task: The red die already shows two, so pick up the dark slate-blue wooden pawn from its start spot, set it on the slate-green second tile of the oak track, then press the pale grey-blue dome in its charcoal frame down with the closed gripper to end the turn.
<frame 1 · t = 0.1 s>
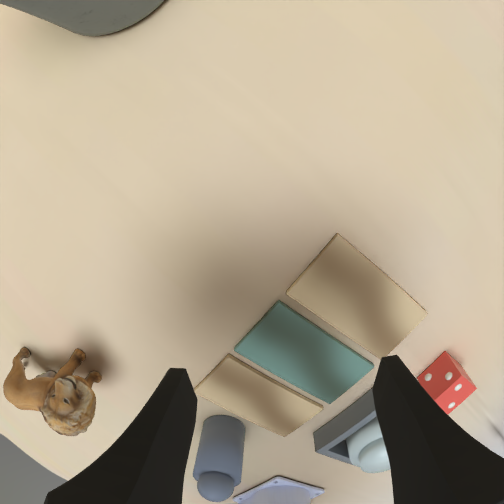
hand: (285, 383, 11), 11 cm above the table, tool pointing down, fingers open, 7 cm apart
dome: (381, 444, 23), point 3 cm above the table, slide at 0.0 cm
pawn: (224, 427, 26), on the table
lion figurine: (66, 358, 25), on the table
dome frame: (375, 422, 26), on the table
red die: (439, 371, 23), on the table
track: (307, 357, 23), on the table
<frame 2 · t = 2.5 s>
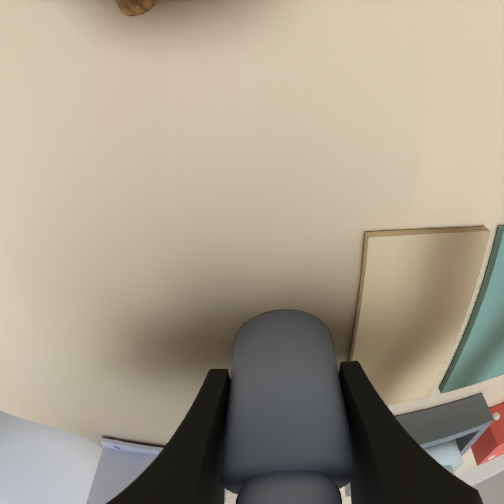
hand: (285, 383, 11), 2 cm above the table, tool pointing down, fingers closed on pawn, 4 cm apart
dome: (417, 472, 15), point 3 cm above the table, slide at 0.0 cm
pawn: (283, 347, 13), on the table, touching gripper
dome frame: (409, 440, 17), on the table
red die: (489, 416, 17), on the table
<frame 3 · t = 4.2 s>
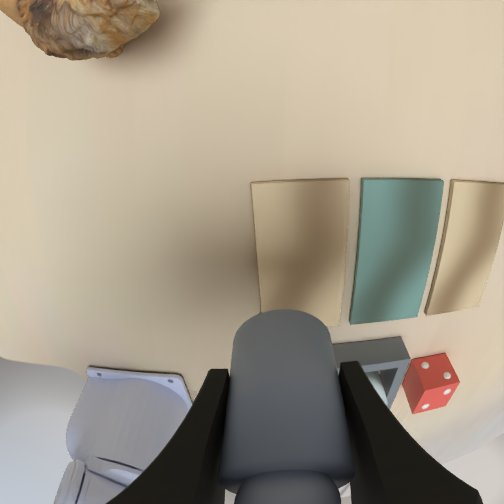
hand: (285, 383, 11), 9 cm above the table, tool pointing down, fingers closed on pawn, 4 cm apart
dome: (346, 406, 21), point 3 cm above the table, slide at 0.0 cm
pawn: (282, 346, 12), point 7 cm above the table, touching gripper
lion figurine: (96, 3, 12), on the table
dome frame: (340, 379, 24), on the table
red die: (423, 369, 24), on the table
track: (395, 255, 18), on the table
when the fingers open (3 cm above the table, at t = 6.1 s): pawn stays where it is, resting on track.
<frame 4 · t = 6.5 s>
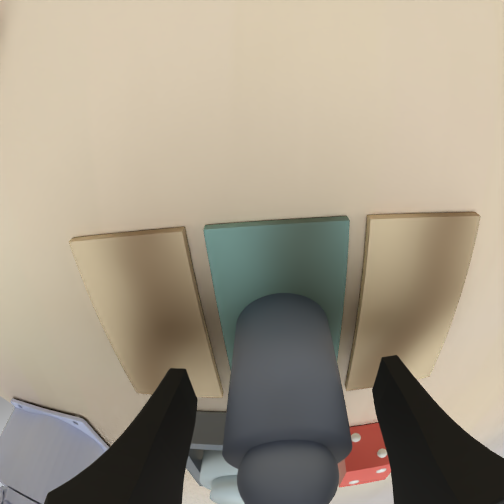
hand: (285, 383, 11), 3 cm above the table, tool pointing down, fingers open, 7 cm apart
dome: (248, 477, 17), point 3 cm above the table, slide at 0.0 cm
pawn: (282, 330, 13), resting on track
dome frame: (250, 442, 19), on the table
red die: (360, 435, 19), on the table
track: (282, 325, 14), on the table
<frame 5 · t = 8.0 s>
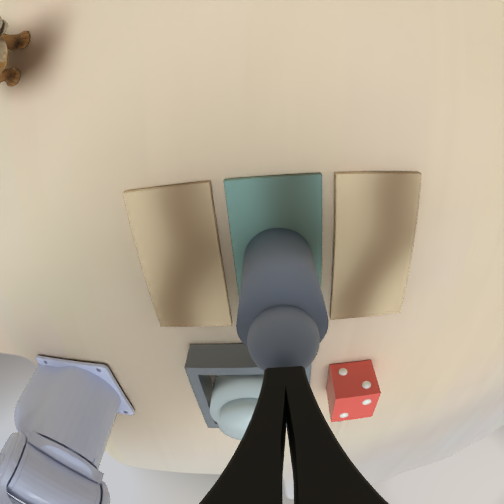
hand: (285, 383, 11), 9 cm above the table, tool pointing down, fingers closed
dome: (252, 407, 22), point 3 cm above the table, slide at 0.0 cm
pawn: (278, 258, 19), resting on track
lion figurine: (3, 42, 12), on the table
dome frame: (253, 379, 25), on the table
red die: (348, 375, 24), on the table
track: (277, 256, 19), on the table
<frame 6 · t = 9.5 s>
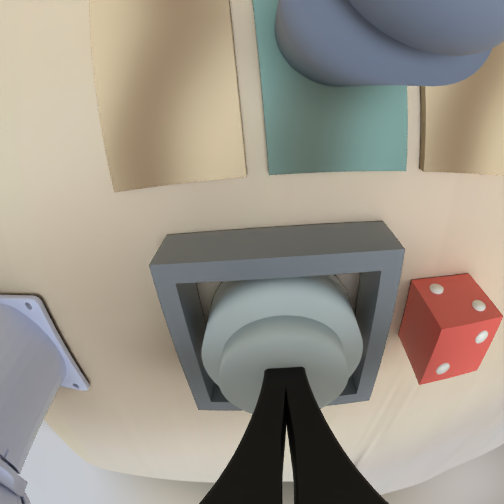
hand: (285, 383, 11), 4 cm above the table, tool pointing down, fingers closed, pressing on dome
dome: (282, 348, 12), point 2 cm above the table, slide at 0.7 cm, touching gripper
pawn: (333, 32, 8), resting on track
dome frame: (280, 314, 14), on the table
red die: (434, 305, 14), on the table
track: (331, 36, 9), on the table
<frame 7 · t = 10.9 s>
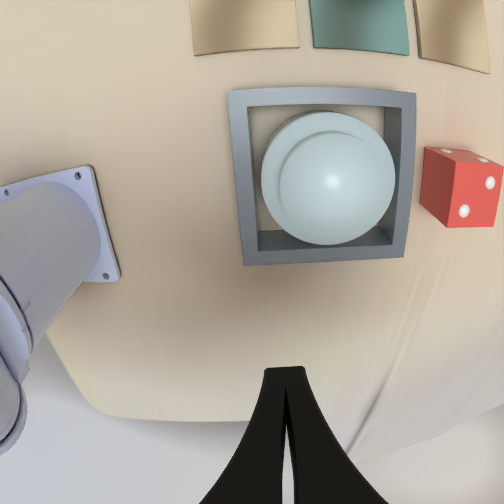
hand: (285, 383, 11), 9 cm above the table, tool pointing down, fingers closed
dome: (328, 178, 14), point 2 cm above the table, slide at 0.8 cm
dome frame: (321, 168, 16), on the table
red die: (446, 176, 16), on the table
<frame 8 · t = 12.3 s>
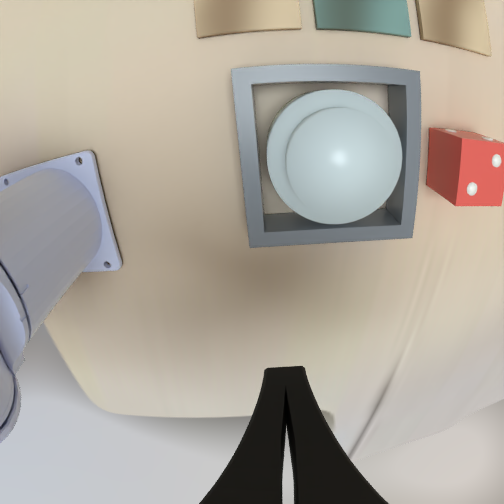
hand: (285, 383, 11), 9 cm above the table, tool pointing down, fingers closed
dome: (334, 156, 14), point 2 cm above the table, slide at 0.8 cm
dome frame: (326, 148, 16), on the table
red die: (451, 157, 15), on the table
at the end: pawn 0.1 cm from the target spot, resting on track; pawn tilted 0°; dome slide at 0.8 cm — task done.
